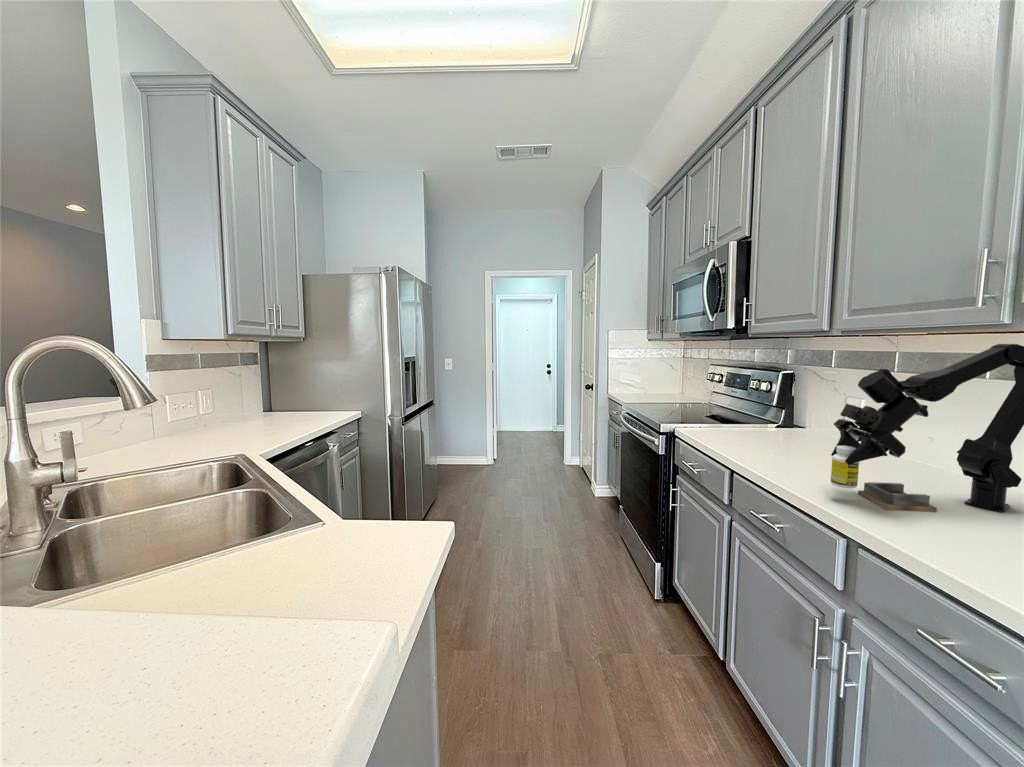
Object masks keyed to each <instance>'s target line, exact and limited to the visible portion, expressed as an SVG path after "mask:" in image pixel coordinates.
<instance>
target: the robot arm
mask: <svg viewBox="0 0 1024 767" xmlns="http://www.w3.org/2000/svg"><path fill="white" fill-rule="evenodd" d="M1005 365H1008V366H1012V367H1014V369H1013V375H1014V382H1015V383H1014V385H1013V386H1012V388H1011V390H1010V391H1009V393H1008V394H1007V396H1006V397H1005V399H1004V400H1003V403H1002V404H1001V406H999V408H998V410H997V411H996V414H995V415H994V416H993V418H992V420H991V422H990V423H989V425H988V426H987V428H986V430H985V431H984V433H983V434H982V435H981V436H979V437H978V438H976V439H970V438H966V439H965V440H964V441H963V444H962V446H961V447H960V449H959V450H957V451H956V454H958V455H957V458H956V461H957V464H958V466H959V467H960V468H961V471H962V474H963V475H964V476H965V477H969V478H971V479H972V480H971V488H970V489H971V490H970V498H968V499H967V500H965V501H964V504H965V505H967V506H973V507H976V508H982V509H987V510H991V511H995V512H1001V513H1005V512H1006V511H1007V510H1008V509H1009V508H1010V507H1011V504H1009V503H1006V500H1007V489H1008V488H1009V489H1011V488H1018V487H1019V485H1020V483H1021V481H1022V478H1021V477H1020V475H1018V474H1017V473H1016V472H1015V471H1014V470H1013V469H1012V468H1011V467H1010V466H1011V464H1012V461H1013V453H1012V447H1011V446H1012V445H1013V443H1014V442H1015V439H1016V438H1017V437H1018V435H1019V434H1020V433H1021V430H1022V428H1023V427H1024V346H1023V345H1020V344H1017V343H998V344H995V345H992V346H990V348H988V349H986V350H983V351H982V352H979V353H977V354H976V353H975V354H974V355H972V356H969V357H967V358H965V359H963V360H961V361H958V362H956V363H954V364H951V365H950V366H947V367H945V368H942V369H939V370H934V371H932V370H931V371H928V372H922V373H919V374H915V375H912V376H909V377H908V378H906V379H905V380H900V381H899V380H898V379H897V378H896V377H895V376H894V375H893V374H892V373H891V371H889V370H888V369H887V368H880V369H878V370H876V371H874V372H872V373H869V374H867V375H865V376H863V377H862V378H860V380H859V381H858V384H857V386H858V388H859V389H861V390H862V392H864V393H865V394H866V395H867V396H868V397H869V398H870V399H871V400H872V401H873V402H875V403H876V404H882V403H883V405H882V406H880V408H878V409H876V408H874V407H872V406H869V405H868V406H867V405H865V406H863V407H861V406H856V405H853V404H849V403H846V404H845V405H844V407H843V409H842V411H841V412H840V414H839V416H841V417H846V418H847V419H845V418H841V419H837V420H836V421H835V422H834V423H833V426H834V427H835V428H836V429H837V430H838V431H839V434H840V438H839V439H838V442H837V443H836V445H835V447H834V449H833V450H832V452H831V455H830V456H831V457H833V455H835V454H837V452H836V448H837V446H851V447H854V448H856V449H855V450H854V451H853V452H852V453H851V454H850V455H849V456H848V458H847V459H846V460H845V462H846V463H847V464H852V463H856V462H859V463H860V462H863V461H866V460H871V459H874V458H875V459H876V458H880V457H888V455H890V456H893V457H895V458H900V457H902V456H903V455H904V454H905V453H906V446H905V445H904V444H903V443H902V442H901V440H900V439H898V438H897V437H896V436H894V434H893V433H895V432H899V433H901V432H902V431H904V428H903V427H902V426H903V425H904V424H905V423H906V422H908V421H909V420H910V419H912V417H914V416H920V417H924V418H929V411H928V407H929V406H928V405H925V404H921V403H919V402H918V401H917V400H919V401H924V402H932V403H933V402H935V403H936V402H938V401H942V400H943V399H944V398H946V397H948V396H950V395H951V394H953V393H954V392H955V390H956V389H957V387H958V386H960V385H961V384H963V383H966V382H968V381H970V380H974V379H975V378H977V377H980V376H983V375H985V374H986V373H987V374H988V373H989V372H991V371H994V370H996V369H998V368H1001V367H1003V366H1005ZM848 419H850V420H848ZM851 420H853V421H851ZM887 452H888V453H887Z"/></svg>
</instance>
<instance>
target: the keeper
mask: <svg viewBox="0 0 1024 767" xmlns="http://www.w3.org/2000/svg"><path fill="white" fill-rule="evenodd" d="M863 484H864V485H863V490H859V489H858V490H857V495H859V496H860V497H862V498H864V499H866V500H868V501H870V502H871V503H873V504H875V505H876V506H878V507H880V508H883V509H884V510H885V511H902V512H903V511H905V512H906V511H908V512H933V513H934V512H935V513H936V512H937V511H938V510H937V508H938V507H936V506H935V505H932V504H930V499H931V498H930V495H927V494H923V493H922V494H919V493H907V492H904V491H905V490H904V488H905V484H903V483H901V482H875V481H872V482H871V481H870V482H869V481H868V482H864V483H863Z"/></svg>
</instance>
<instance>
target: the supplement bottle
mask: <svg viewBox="0 0 1024 767" xmlns="http://www.w3.org/2000/svg"><path fill="white" fill-rule="evenodd" d="M855 449H856V448H854V447H851V446H837V448H836V452H837V454H835V455H833V456H831V457H832V459H831V473H830V483H831V485H833V486H834V487H835V486H836V487H839V488H843V489H856V488H857V487H858V483H859V470H860V462H856V463H852V464H847V463H846V462H845V460H846V459H847V458H848V456H849V455H850V454H851V453H852V452H853V451H854V450H855Z"/></svg>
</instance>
